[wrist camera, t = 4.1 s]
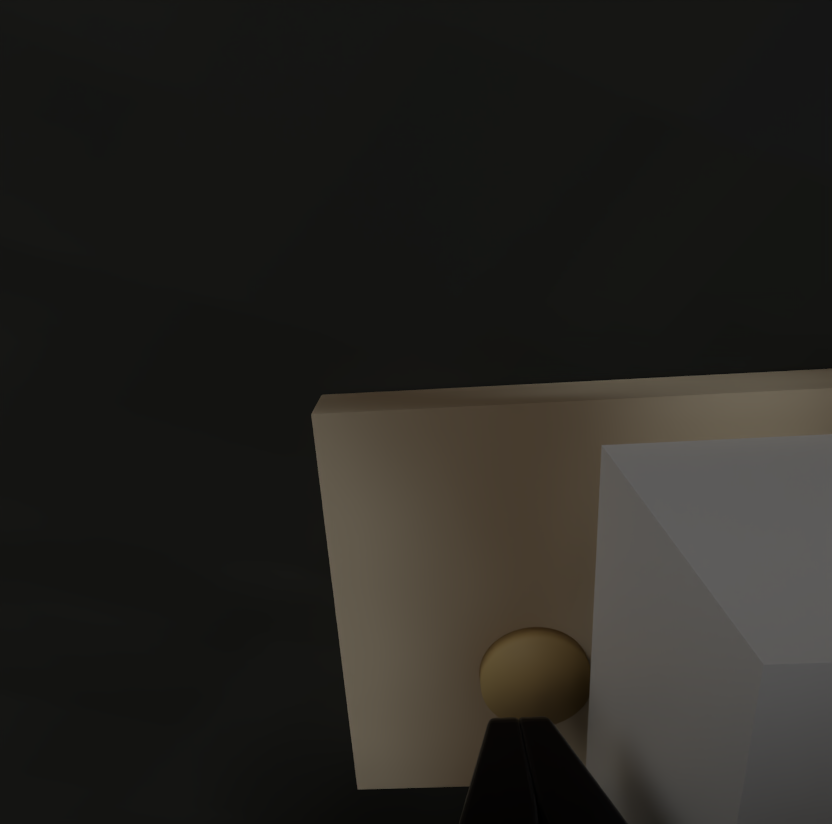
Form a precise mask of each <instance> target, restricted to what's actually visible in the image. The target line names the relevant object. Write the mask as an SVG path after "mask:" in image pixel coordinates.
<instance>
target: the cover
mask: <svg viewBox="0 0 832 824" xmlns="http://www.w3.org/2000/svg"><path fill="white" fill-rule="evenodd" d="M586 768H587V769H588V771H589V772H590V773H591V775H592V776H593V777H594V779H595V780H596V781H597V783H598V784H599V785H600V787H601V788H602V789H603V791H604V792H605V793H606V795H607V796H608V797H609V799H610V800H611V801H612V803H613V804H614V806H615V807H616V808H617V810H618V811H619V812H620V814H621V815H622V816H623V818H624V819H625V820H626V822H627V823H628V824H832V434H824V435H803V436H782V437H761V438H740V439H719V440H698V441H677V442H657V443H636V444H615V445H602V447H601V467H600V487H599V508H598V528H597V549H596V569H595V589H594V610H593V630H592V651H591V671H590V691H589V712H588V732H587V752H586Z"/></svg>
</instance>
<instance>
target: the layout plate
mask: <svg viewBox="0 0 832 824" xmlns="http://www.w3.org/2000/svg"><path fill="white" fill-rule="evenodd" d="M311 416H312V424H313V432H314V440H315V448H316V456H317V464H318V472H319V480H320V489H321V497H322V505H323V513H324V521H325V529H326V537H327V545H328V553H329V562H330V570H331V578H332V586H333V594H334V602H335V610H336V618H337V626H338V635H339V643H340V651H341V659H342V667H343V675H344V683H345V691H346V699H347V707H348V716H349V724H350V732H351V740H352V748H353V756H354V764H355V772H356V780H357V789H392V788H426V787H460V786H470V782H471V779H472V776H473V772H474V769H475V765H476V762H477V758H478V755H479V751H480V748H481V744H482V741H483V738H484V734H485V731H486V727H487V724H488V722H489V720H490V719H492V718H504V717H516V718H518V719H519V718H521V717H532V716H545V717H547V718H549V719H550V720H551V721H552V722H553V724H554V725H555V726H556V728H557V729H558V730H559V732H560V733H561V734H562V736H563V737H564V738H565V740H566V741H567V742H568V744H569V745H570V746H571V748H572V749H573V750H574V752H575V753H576V755H577V756H578V757H579V759H580V760H581V761H582V763H583V764H584V765H585V767H586V752H587V732H588V712H589V691H590V671H591V651H592V630H593V610H594V589H595V569H596V549H597V528H598V508H599V487H600V467H601V447H602V445H615V444H636V443H657V442H677V441H698V440H719V439H740V438H761V437H782V436H803V435H824V434H832V369H817V370H797V371H778V372H758V373H739V374H719V375H700V376H680V377H661V378H641V379H622V380H602V381H583V382H563V383H544V384H524V385H505V386H485V387H466V388H446V389H427V390H407V391H388V392H368V393H349V394H329V395H322V396H321V397H320V399H319V401H318V403H317V405H316V407H315V408H314V410H313V412H312V414H311Z"/></svg>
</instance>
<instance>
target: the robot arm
mask: <svg viewBox="0 0 832 824" xmlns="http://www.w3.org/2000/svg"><path fill="white" fill-rule="evenodd" d="M459 824H628V823H627V822H626V820H625V819H624V818H623V816H622V815H621V814H620V812H619V811H618V810H617V808H616V807H615V806H614V804H613V803H612V801H611V800H610V799H609V797H608V796H607V795H606V793H605V792H604V791H603V789H602V788H601V787H600V785H599V784H598V783H597V781H596V780H595V779H594V777H593V776H592V775H591V773H590V772H589V771H588V769H587V768H586V767H585V765H584V764H583V763H582V761H581V760H580V759H579V757H578V756H577V755H576V753H575V752H574V750H573V749H572V748H571V746H570V745H569V744H568V742H567V741H566V740H565V738H564V737H563V736H562V734H561V733H560V732H559V730H558V729H557V728H556V726H555V725H554V724H553V722H552V721H551V720H550V719H549V718H547V717H545V716H532V717H521V718H519V719H518V718H516V717H504V718H492V719H490V720H489V722H488V724H487V727H486V731H485V734H484V738H483V741H482V744H481V748H480V751H479V755H478V758H477V762H476V765H475V769H474V772H473V776H472V779H471V782H470V786H469V789H468V793H467V796H466V800H465V803H464V807H463V810H462V814H461V817H460V821H459Z"/></svg>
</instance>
